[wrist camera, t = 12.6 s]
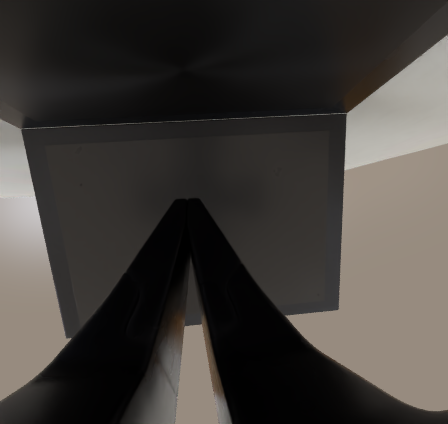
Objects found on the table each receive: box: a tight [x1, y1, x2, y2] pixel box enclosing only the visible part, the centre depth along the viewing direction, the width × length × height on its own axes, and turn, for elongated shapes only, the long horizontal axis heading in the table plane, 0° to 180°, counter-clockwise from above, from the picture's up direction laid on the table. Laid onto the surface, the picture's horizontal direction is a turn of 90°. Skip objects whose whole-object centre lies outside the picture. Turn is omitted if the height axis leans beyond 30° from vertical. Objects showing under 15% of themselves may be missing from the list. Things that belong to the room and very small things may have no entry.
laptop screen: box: [21, 114, 347, 338], centre depth 21 cm, size 17×24×1 cm
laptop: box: [0, 0, 448, 128], centre depth 10 cm, size 17×24×2 cm
